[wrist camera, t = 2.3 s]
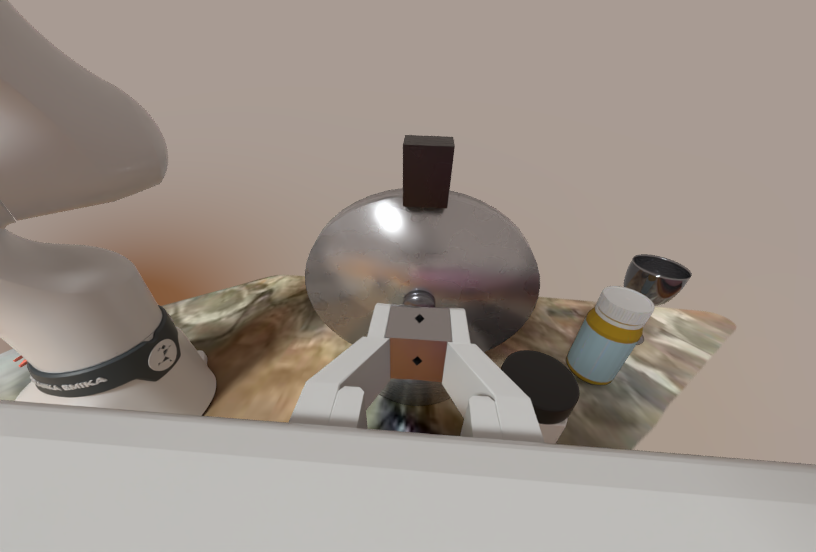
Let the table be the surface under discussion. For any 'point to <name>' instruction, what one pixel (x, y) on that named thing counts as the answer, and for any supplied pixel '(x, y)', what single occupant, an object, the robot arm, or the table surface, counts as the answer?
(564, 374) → the jar
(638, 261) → the wine glass
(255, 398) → the table surface
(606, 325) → the bottle
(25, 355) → the robot arm
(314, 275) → the lid
